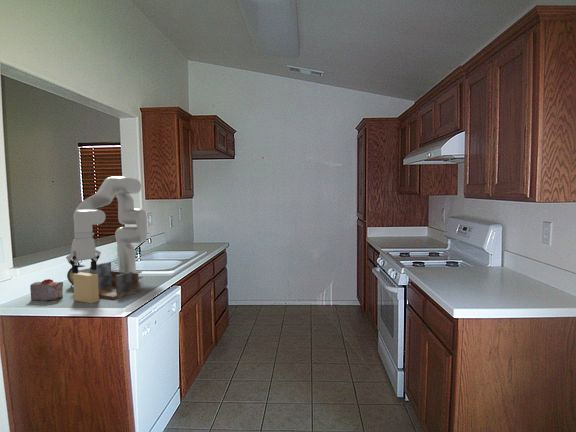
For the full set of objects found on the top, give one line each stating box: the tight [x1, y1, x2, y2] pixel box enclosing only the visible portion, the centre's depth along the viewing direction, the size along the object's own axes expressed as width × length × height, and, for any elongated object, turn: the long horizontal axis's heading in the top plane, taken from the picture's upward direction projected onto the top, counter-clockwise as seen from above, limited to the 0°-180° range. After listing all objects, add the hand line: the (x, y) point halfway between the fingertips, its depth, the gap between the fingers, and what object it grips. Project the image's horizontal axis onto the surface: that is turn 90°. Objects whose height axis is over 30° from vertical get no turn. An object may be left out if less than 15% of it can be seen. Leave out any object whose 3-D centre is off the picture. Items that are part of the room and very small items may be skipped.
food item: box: [29, 278, 64, 302], centre depth 179 cm, size 14×8×10 cm, turn 91°
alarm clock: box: [66, 260, 86, 288], centre depth 203 cm, size 11×5×16 cm, turn 106°
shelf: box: [89, 261, 140, 301], centre depth 189 cm, size 16×22×14 cm
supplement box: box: [78, 265, 91, 273], centre depth 193 cm, size 7×7×13 cm
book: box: [73, 272, 100, 304], centre depth 176 cm, size 4×12×13 cm, turn 66°
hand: (84, 271), depth 175 cm, fingers open, 9 cm apart
